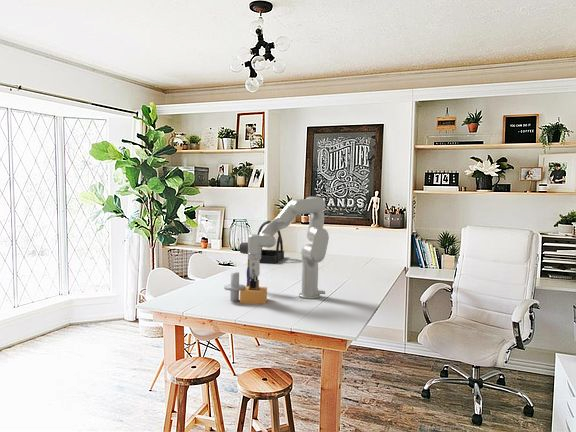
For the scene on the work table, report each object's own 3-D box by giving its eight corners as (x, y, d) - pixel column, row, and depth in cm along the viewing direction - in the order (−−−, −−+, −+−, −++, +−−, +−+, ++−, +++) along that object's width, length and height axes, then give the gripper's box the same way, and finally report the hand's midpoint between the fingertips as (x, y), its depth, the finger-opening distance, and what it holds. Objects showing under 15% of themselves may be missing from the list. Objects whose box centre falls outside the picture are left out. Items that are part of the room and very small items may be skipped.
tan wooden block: (258, 300, 267) (259, 279, 266) (257, 302, 263) (257, 281, 262) (250, 300, 267) (250, 279, 266) (248, 301, 263) (249, 280, 262)
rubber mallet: (237, 289, 291) (238, 242, 289) (243, 287, 298) (244, 241, 296) (255, 292, 286) (256, 244, 284) (260, 289, 293) (261, 242, 291)
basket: (275, 264, 384) (276, 223, 381) (251, 263, 388) (252, 222, 385) (284, 257, 418) (285, 219, 415) (262, 256, 422) (262, 218, 420)
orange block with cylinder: (266, 298, 271) (267, 271, 270) (264, 304, 259) (265, 275, 258) (226, 297, 272) (226, 270, 271) (222, 302, 260) (222, 274, 259)
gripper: (259, 258, 254) (258, 289, 256) (262, 254, 272) (262, 282, 273) (245, 258, 255) (245, 289, 256) (249, 253, 272) (249, 282, 273)
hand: (253, 285), depth 264 cm, fingers open, 9 cm apart
